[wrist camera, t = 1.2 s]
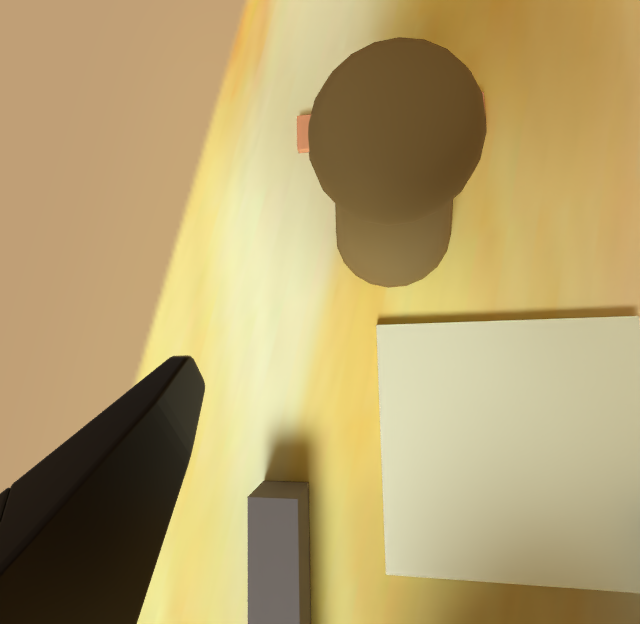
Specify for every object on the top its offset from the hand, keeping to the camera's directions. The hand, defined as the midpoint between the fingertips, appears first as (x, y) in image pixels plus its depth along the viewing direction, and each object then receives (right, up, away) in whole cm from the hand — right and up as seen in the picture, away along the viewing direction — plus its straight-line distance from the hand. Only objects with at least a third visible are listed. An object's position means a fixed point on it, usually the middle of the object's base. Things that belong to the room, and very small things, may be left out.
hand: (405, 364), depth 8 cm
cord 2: (-3, -13, +12) cm, 18 cm away
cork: (+2, +5, +13) cm, 14 cm away
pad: (+7, -5, +11) cm, 14 cm away
